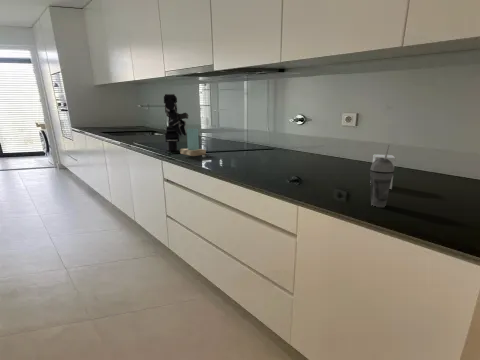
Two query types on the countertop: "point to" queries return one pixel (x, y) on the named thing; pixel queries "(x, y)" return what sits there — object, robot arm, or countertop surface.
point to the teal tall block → (192, 139)
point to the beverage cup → (381, 180)
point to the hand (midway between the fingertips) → (183, 135)
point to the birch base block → (193, 152)
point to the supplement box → (389, 157)
